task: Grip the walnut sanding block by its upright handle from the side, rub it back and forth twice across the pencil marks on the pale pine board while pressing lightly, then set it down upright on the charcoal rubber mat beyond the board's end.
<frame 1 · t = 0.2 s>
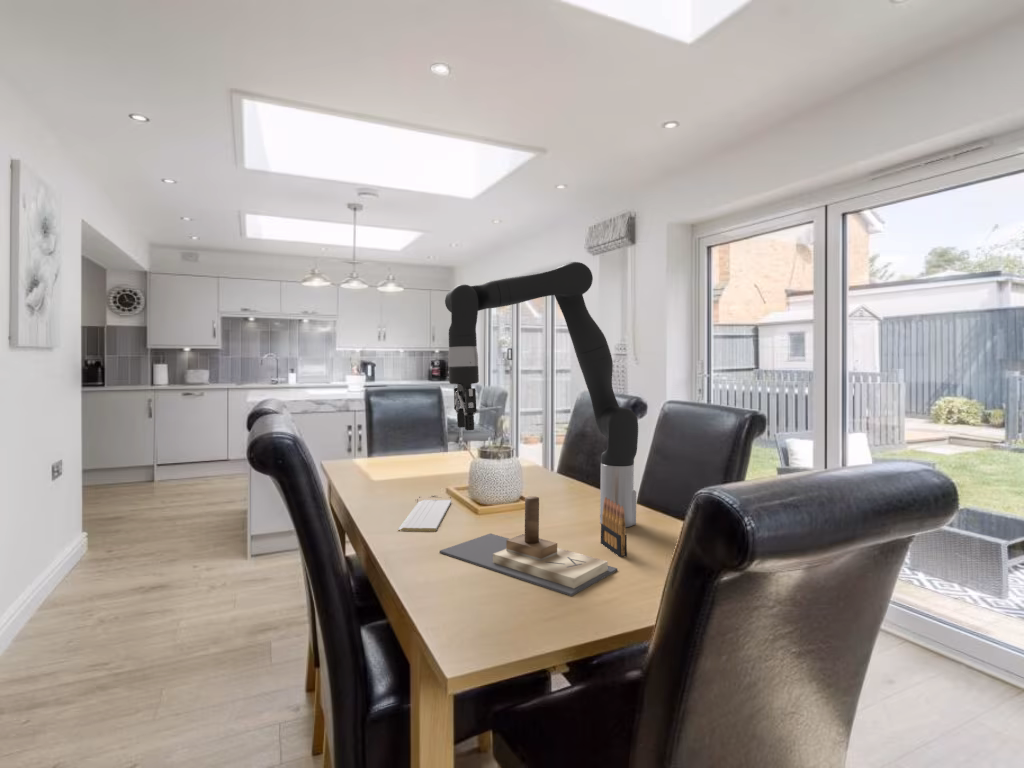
hand: (465, 428, 142), 29 cm above the table, tool pointing down, fingers open, 8 cm apart
sanding block: (531, 552, 128), point 2 cm above the table, touching pine board
baseboard molding: (424, 518, 167), on the table
pine board: (549, 568, 124), resting on rubber mat
rubber mat: (524, 561, 129), on the table
ammunition clip: (613, 550, 137), on the table
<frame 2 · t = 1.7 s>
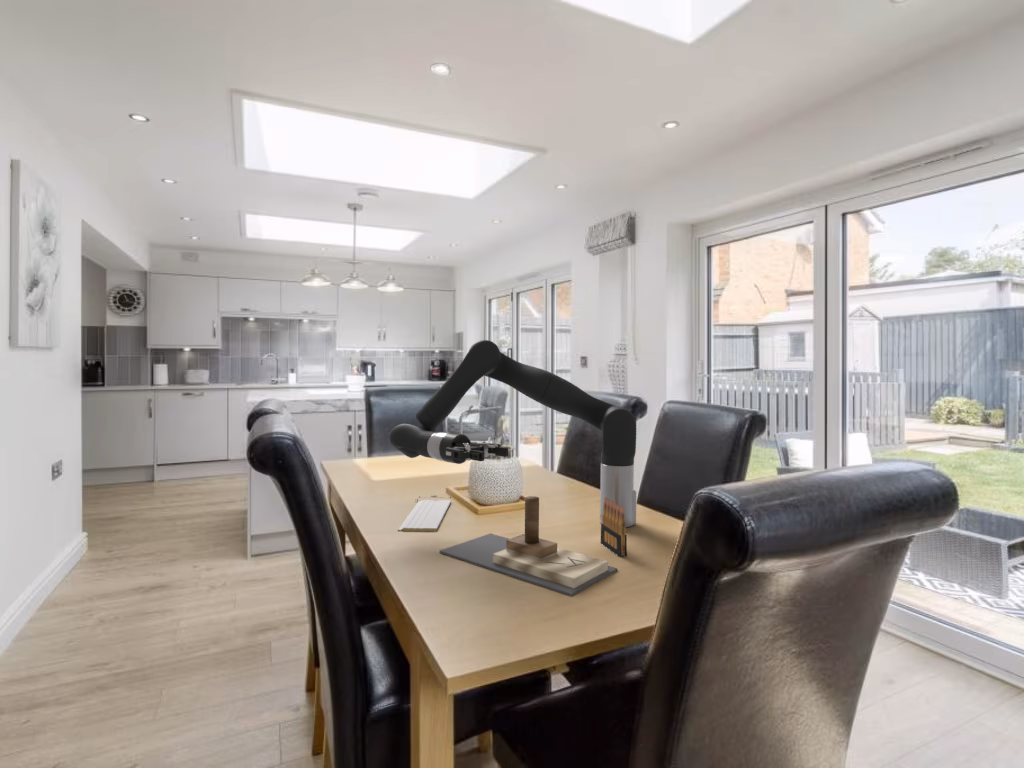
hand: (495, 454, 134), 24 cm above the table, tool horizontal, fingers open, 8 cm apart
nothing on the table moved.
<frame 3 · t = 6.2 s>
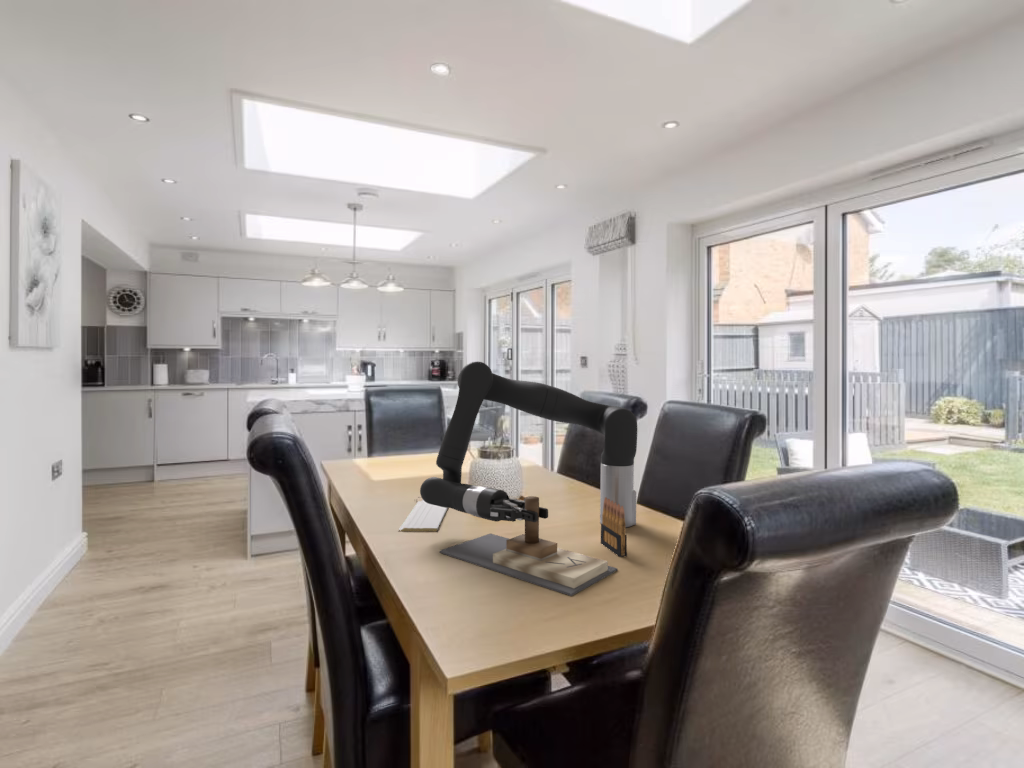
hand: (541, 515, 125), 11 cm above the table, tool horizontal, fingers closed on sanding block, 3 cm apart
sanding block: (531, 552, 127), point 2 cm above the table, touching gripper, pine board
everything else where it was.
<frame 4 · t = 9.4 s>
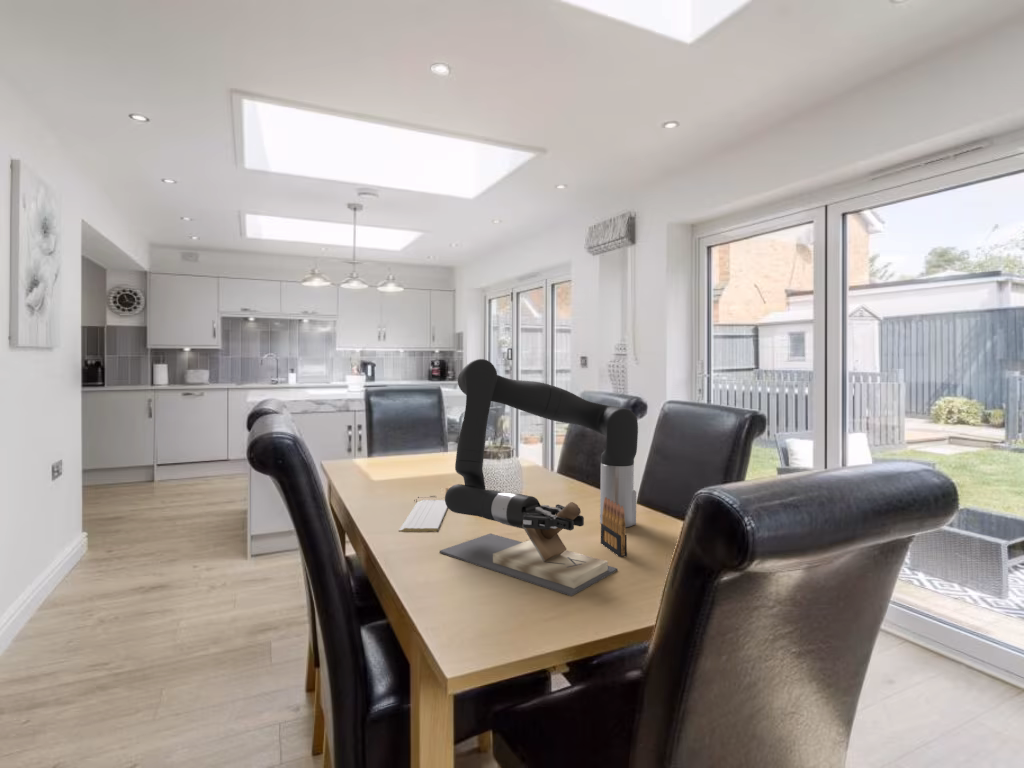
hand: (577, 523, 119), 12 cm above the table, tool horizontal, fingers closed on sanding block, 3 cm apart
sanding block: (540, 538, 126), point 6 cm above the table, tilted 47°, touching gripper, pine board
everything else where it was.
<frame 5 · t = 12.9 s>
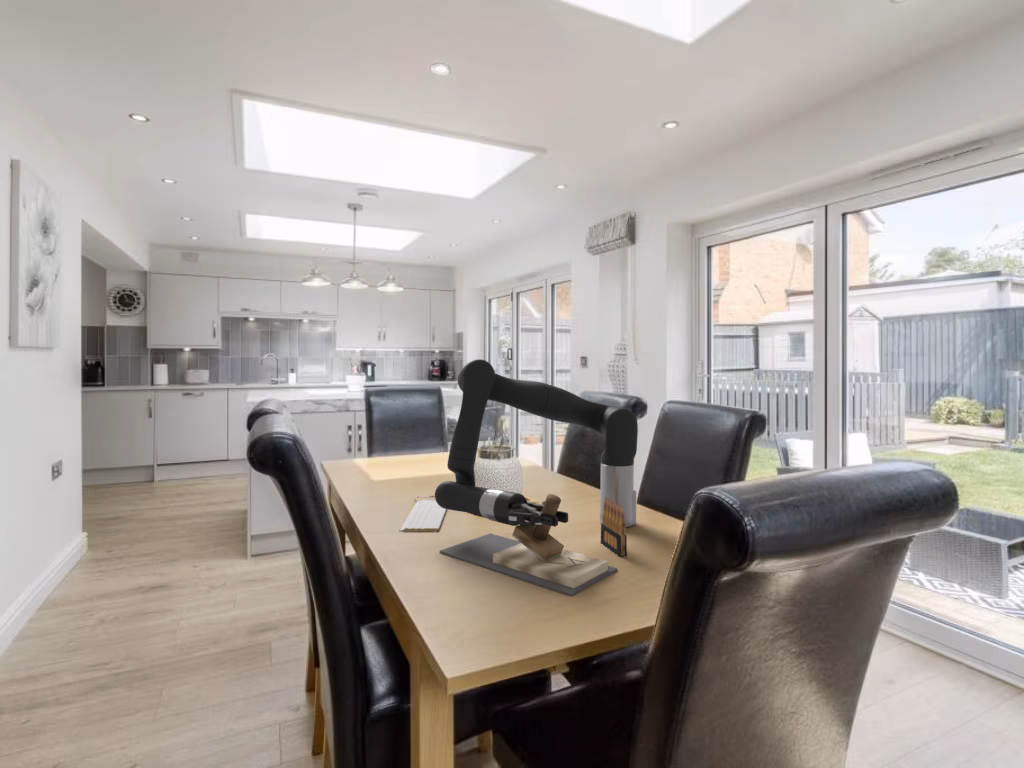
hand: (562, 519, 122), 12 cm above the table, tool horizontal, fingers closed on sanding block, 3 cm apart
sanding block: (536, 545, 127), point 4 cm above the table, tilted 23°, touching gripper, pine board
everything else where it was.
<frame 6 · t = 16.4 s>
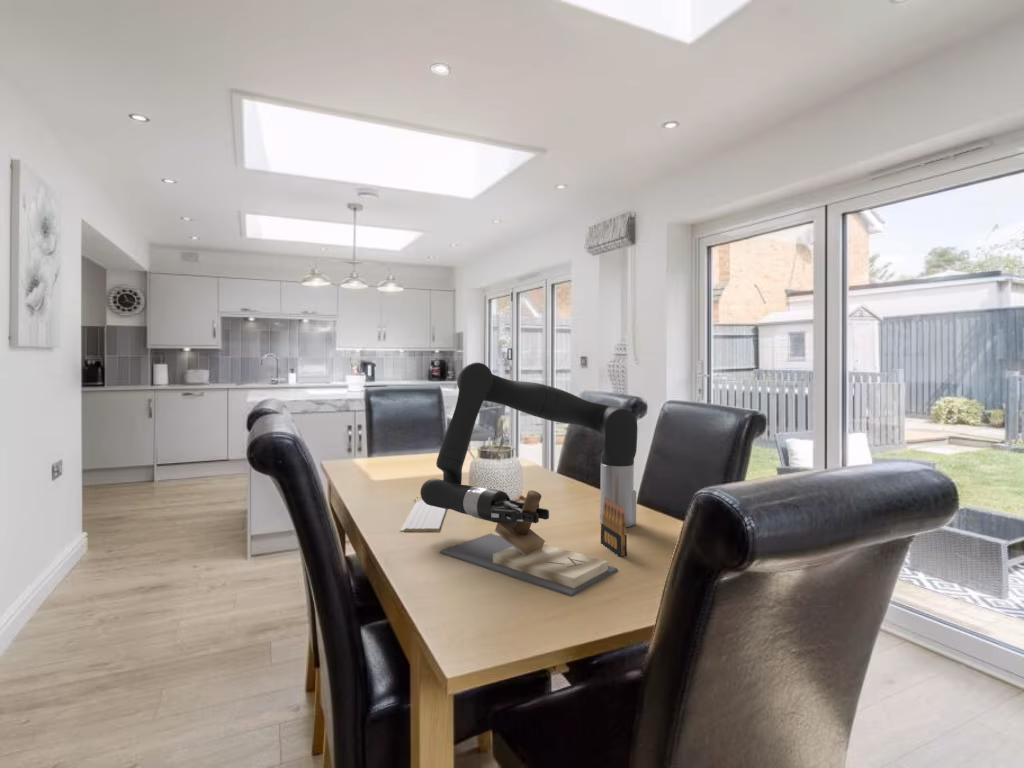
hand: (542, 516, 125), 11 cm above the table, tool horizontal, fingers closed on sanding block, 3 cm apart
sanding block: (518, 540, 130), point 4 cm above the table, tilted 23°, touching gripper, pine board
everything else where it was.
when the fingers open (11 cm above the table, at t = 19.7 s): sanding block drops 3 cm, resting on rubber mat.
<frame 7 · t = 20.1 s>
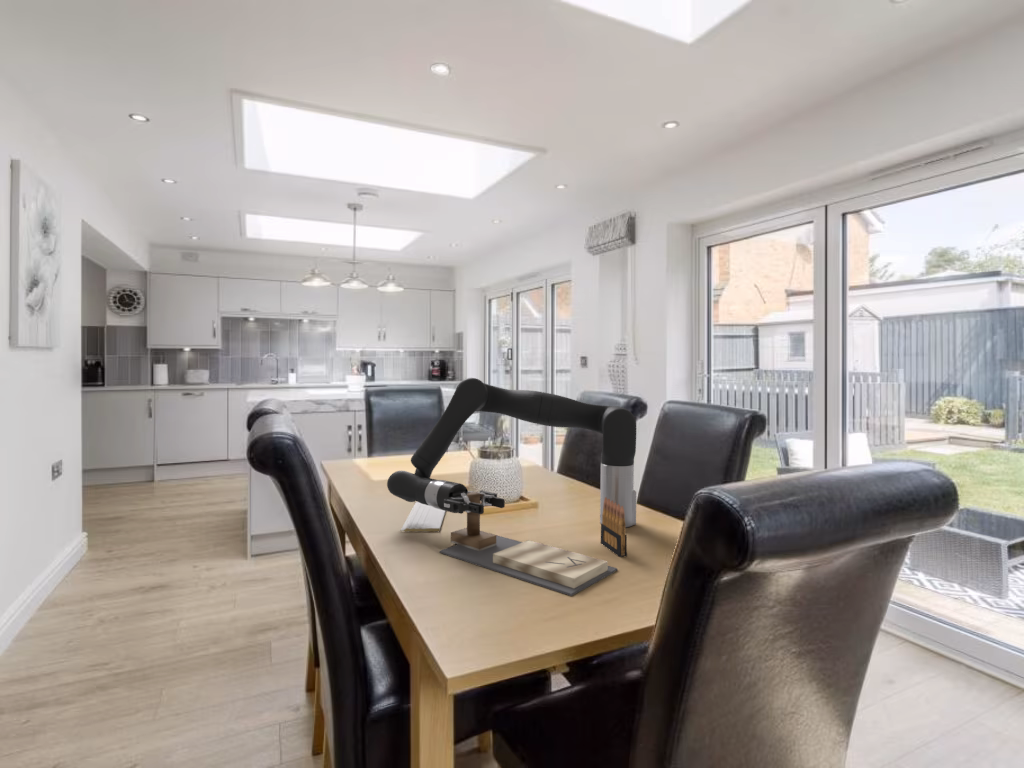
hand: (493, 506, 135), 11 cm above the table, tool horizontal, fingers open, 7 cm apart
sanding block: (473, 543, 140), resting on rubber mat
everything else where it was.
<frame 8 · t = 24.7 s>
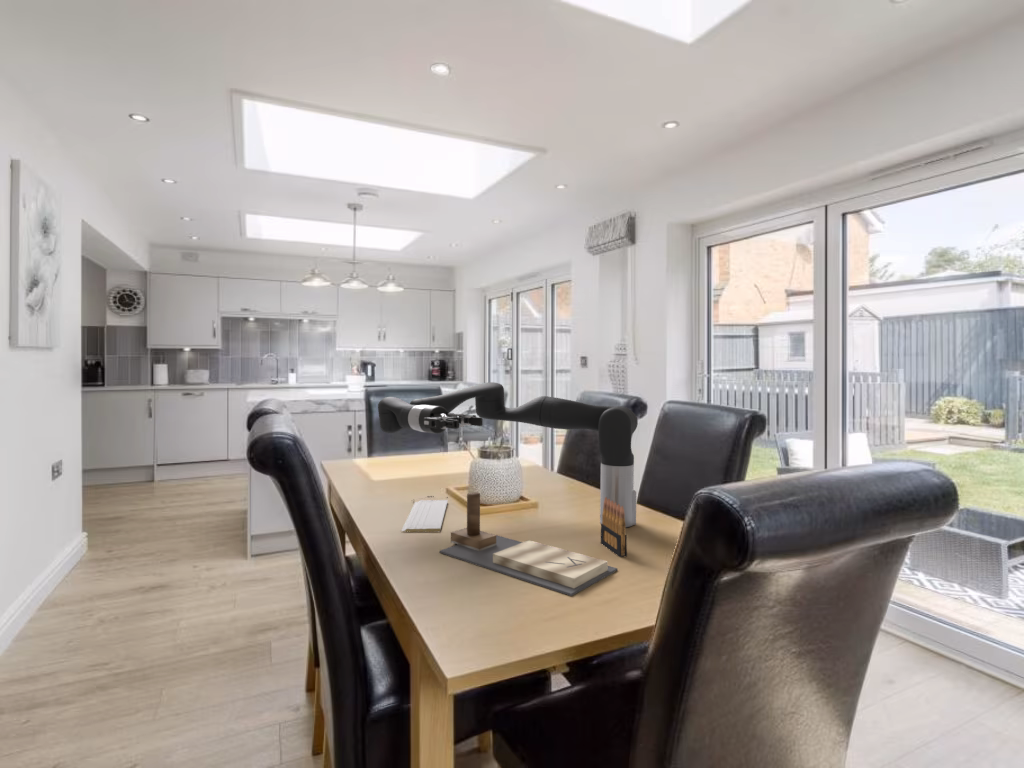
hand: (470, 423, 144), 30 cm above the table, tool horizontal, fingers open, 8 cm apart
nothing on the table moved.
at the end: sanding block inside the target area (4.4 cm from its centre), point 0.5 cm above the table; sanding block tilted 0°; the gripper is holding nothing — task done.
